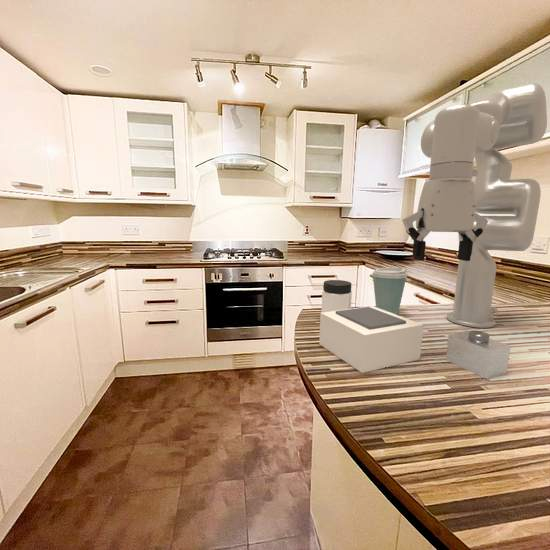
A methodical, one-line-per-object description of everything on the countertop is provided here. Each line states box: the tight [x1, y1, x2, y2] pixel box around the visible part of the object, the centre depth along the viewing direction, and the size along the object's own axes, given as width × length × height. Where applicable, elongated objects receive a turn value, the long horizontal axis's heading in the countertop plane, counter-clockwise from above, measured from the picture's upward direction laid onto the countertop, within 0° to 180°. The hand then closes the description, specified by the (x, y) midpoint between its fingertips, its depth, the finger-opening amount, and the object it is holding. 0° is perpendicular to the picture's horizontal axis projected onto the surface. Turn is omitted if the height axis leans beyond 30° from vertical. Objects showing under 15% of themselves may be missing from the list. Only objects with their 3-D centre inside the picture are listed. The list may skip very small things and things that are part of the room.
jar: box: [321, 279, 353, 313], centre depth 93 cm, size 9×8×12 cm
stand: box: [318, 305, 424, 374], centre depth 72 cm, size 16×16×9 cm
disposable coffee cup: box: [372, 267, 408, 315], centre depth 101 cm, size 11×11×15 cm
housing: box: [445, 330, 511, 380], centre depth 65 cm, size 6×9×7 cm, turn 24°
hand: (441, 260), depth 65 cm, fingers open, 9 cm apart
